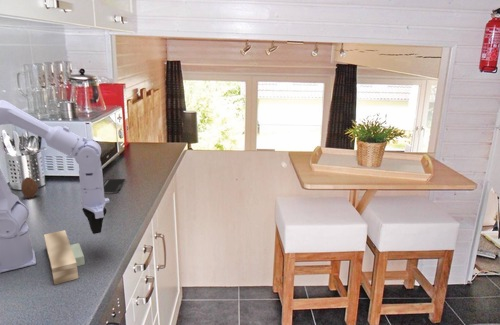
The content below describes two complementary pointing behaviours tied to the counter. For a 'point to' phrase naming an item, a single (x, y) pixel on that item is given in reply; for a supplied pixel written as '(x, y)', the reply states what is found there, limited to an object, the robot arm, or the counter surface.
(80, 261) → the pale green slab
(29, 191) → the coconut
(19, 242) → the robot arm
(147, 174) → the counter surface
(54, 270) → the overhang shelf
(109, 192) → the phone
